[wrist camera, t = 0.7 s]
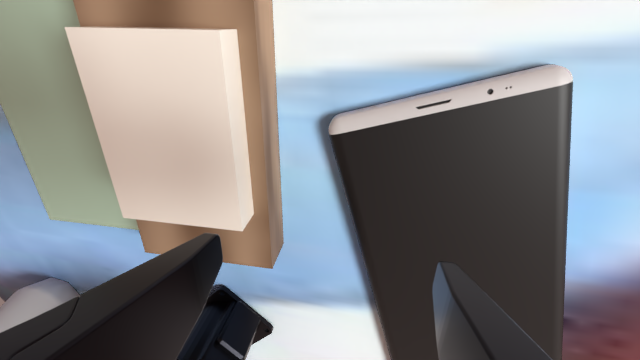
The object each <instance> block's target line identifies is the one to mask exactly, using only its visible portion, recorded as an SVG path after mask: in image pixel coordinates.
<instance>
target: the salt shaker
mask: <svg viewBox="0 0 640 360" xmlns="http://www.w3.org/2000/svg"><path fill="white" fill-rule="evenodd" d="M77 296H79V297H80V295H79V294H78V293H77V291H76V290H75V289H74V288H73V287H72V286H71V285H70V284H69V283H68V282H65V281H62V280H59V279H56V278H53V277H51V278H48V279H45V280H43V281H40V282H37V283H34V284H32V285H29V286H26V287H23V288H21V289H19V290H17V291H16V292H15V293H14V294H13V295H12V296H11V297H10V298H9V299H8V300H7V301H6V302H5V303H4V304H3V305H2V306H1V307H0V332H3V331H5V330H7V329H9V328H12V327H14V326H16V325H18V324H21V323H23V322H25V321H27V320H30V319H32V318H34V317H36V316H38V315H40V314H42V313H44V312H46V311H49V310H51V309H53V308H55V307H57V306H59V305H61V304H63V303H65V302H67V301H69V300H71V299H73V298H75V297H77Z"/></svg>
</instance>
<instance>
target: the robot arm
mask: <svg viewBox="0 0 640 360" xmlns="http://www.w3.org/2000/svg"><path fill="white" fill-rule="evenodd" d="M222 262H223V253H222V246H221V239H220V236H219V235H218V234H213V233H203V234H201V235H199V236H197V237H195V238H193V239H191V240H189V241H187V242H185V243H183V244H181V245H179V246H177V247H175V248H173V249H171V250H169V251H167V252H165V253H163V254H161V255H159V256H157V257H155V258H153V259H151V260H149V261H147V262H145V263H143V264H141V265H139V266H137V267H135V268H133V269H131V270H129V271H127V272H125V273H123V274H121V275H119V276H117V277H115V278H113V279H111V280H109V281H107V282H105V283H103V284H101V285H99V286H97V287H95V288H93V289H91V290H89V291H87V292H85V293H83V294H81V295H80V297H79V296H77V297H75V298H73V299H71V300H69V301H67V302H65V303H63V304H61V305H59V306H57V307H55V308H53V309H51V310H49V311H46V312H44V313H42V314H40V315H38V316H36V317H34V318H32V319H30V320H27V321H25V322H23V323H21V324H18V325H16V326H14V327H12V328H9V329H7V330H5V331H3V332H0V360H245V359H246V357H247V354H248V352H249V349H250V347H251V345H252V344H254V343H256V342H257V341H259V340H261V339H262V338H264V337H266V336H268V335H269V334H271V333H272V330H273V326H272V325H271V324H270V323H269V322H268V321H266V320H265V319H264V318H263V317H261V316H260V315H259V314H258V313H257V312H255V311H254V310H253V309H252V308H251V307H249V306H248V305H247V304H246V303H245V302H243V301H242V300H241V299H240V298H239V297H237V296H236V295H235V294H234V293H233V292H231V291H230V290H229V289H228V288H226V287H224V286H221V287H219V288H218V289H216V290H215V291H214V292H212V293H211V294H210V292H211V289H212V287H213V284H214V282H215V280H216V277H217V275H218V272H219V270H220V267H221V265H222ZM432 293H433V306H434V318H435V330H436V341H437V350H438V356H439V360H552V359H551V358H550V357H549V356H548V355H547V354H546V353H545V352H544V351H543V350H542V349H541V348H540V347H539V346H538V345H537V344H536V343H535V342H534V341H533V340H532V339H531V338H530V337H529V336H528V335H527V334H526V333H525V332H524V331H523V330H522V329H521V328H520V327H519V326H518V325H517V324H516V323H515V322H514V321H513V320H512V319H511V318H510V317H509V316H508V315H507V314H506V313H505V312H504V311H503V310H502V309H501V308H500V307H499V306H498V305H497V304H496V303H495V302H494V301H493V300H492V299H491V298H490V297H489V296H488V295H487V294H486V293H485V292H484V291H483V290H482V289H481V288H480V287H479V286H478V285H477V284H476V283H475V282H474V281H473V280H472V279H471V278H470V277H469V276H468V275H467V274H466V273H465V272H464V271H463V270H462V269H461V268H460V267H459V266H458V265H457V264H456V263H454V262H446V261H440V262H439V263H438V265H437V269H436V273H435V277H434V282H433V289H432ZM209 294H210V295H209Z"/></svg>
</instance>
